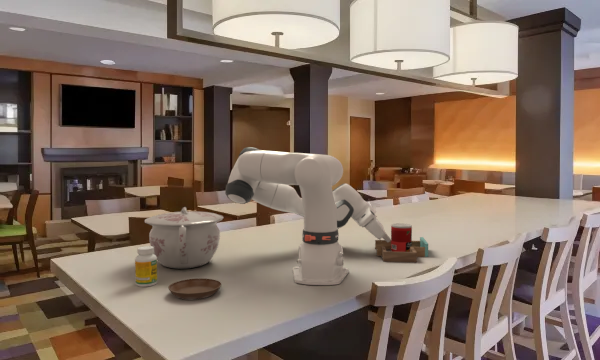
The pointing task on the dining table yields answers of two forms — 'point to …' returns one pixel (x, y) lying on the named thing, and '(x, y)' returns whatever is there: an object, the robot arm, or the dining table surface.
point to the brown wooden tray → (387, 245)
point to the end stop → (424, 245)
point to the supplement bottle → (146, 267)
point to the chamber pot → (184, 238)
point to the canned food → (401, 237)
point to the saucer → (194, 288)
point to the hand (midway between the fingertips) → (389, 240)
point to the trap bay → (399, 256)
